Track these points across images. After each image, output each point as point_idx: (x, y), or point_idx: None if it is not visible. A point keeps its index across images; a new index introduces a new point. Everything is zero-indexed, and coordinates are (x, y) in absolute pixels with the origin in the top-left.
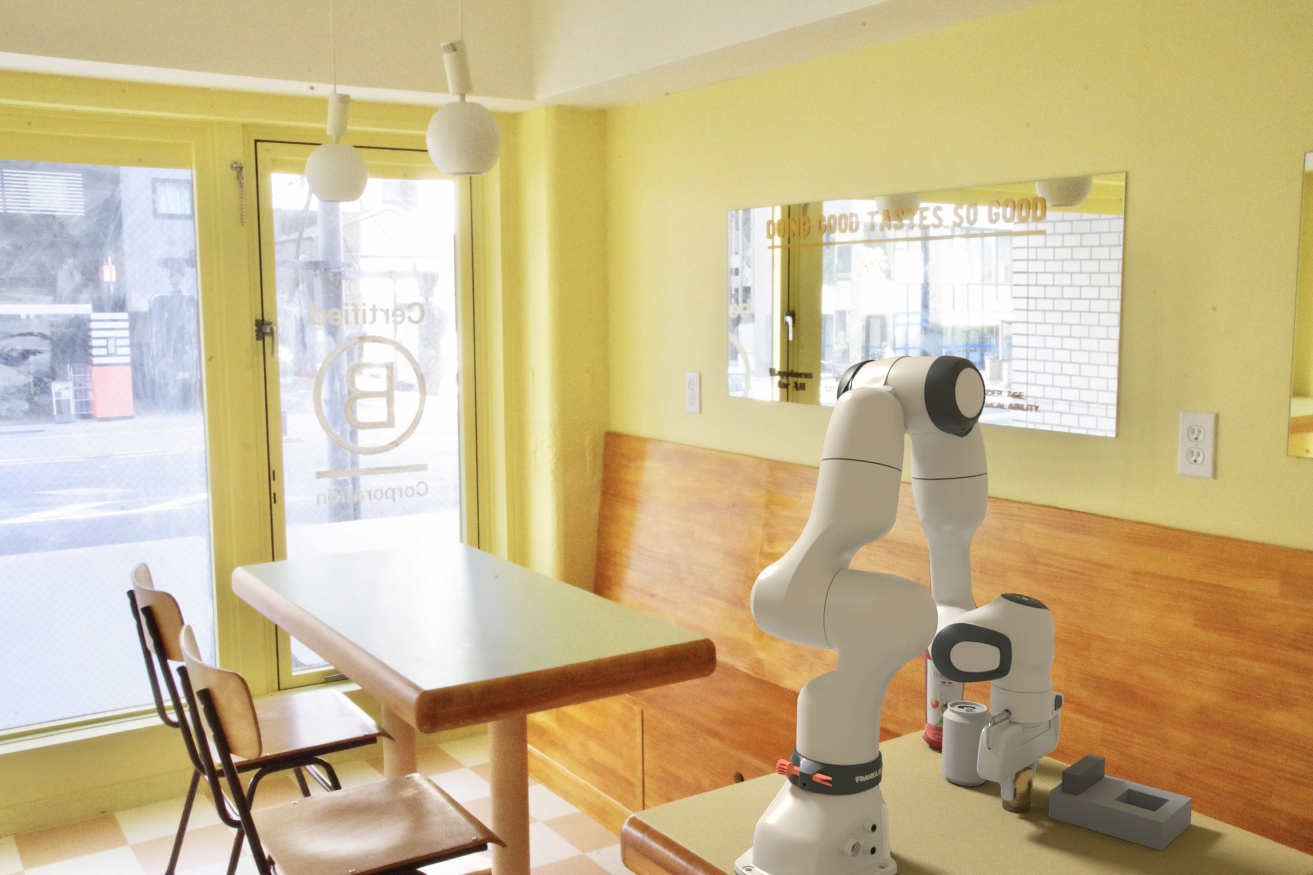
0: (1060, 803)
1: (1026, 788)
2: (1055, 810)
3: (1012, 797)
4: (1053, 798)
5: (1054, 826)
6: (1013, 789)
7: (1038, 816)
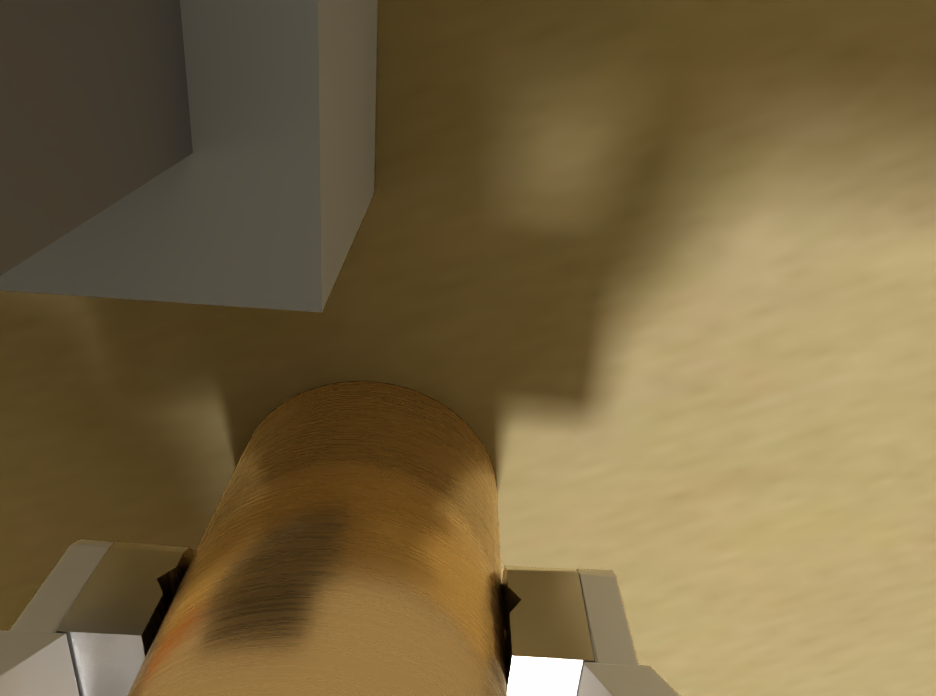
0: (348, 90)
1: (422, 570)
2: (361, 139)
3: (611, 588)
4: (340, 213)
5: (586, 50)
6: (615, 661)
7: (432, 279)
